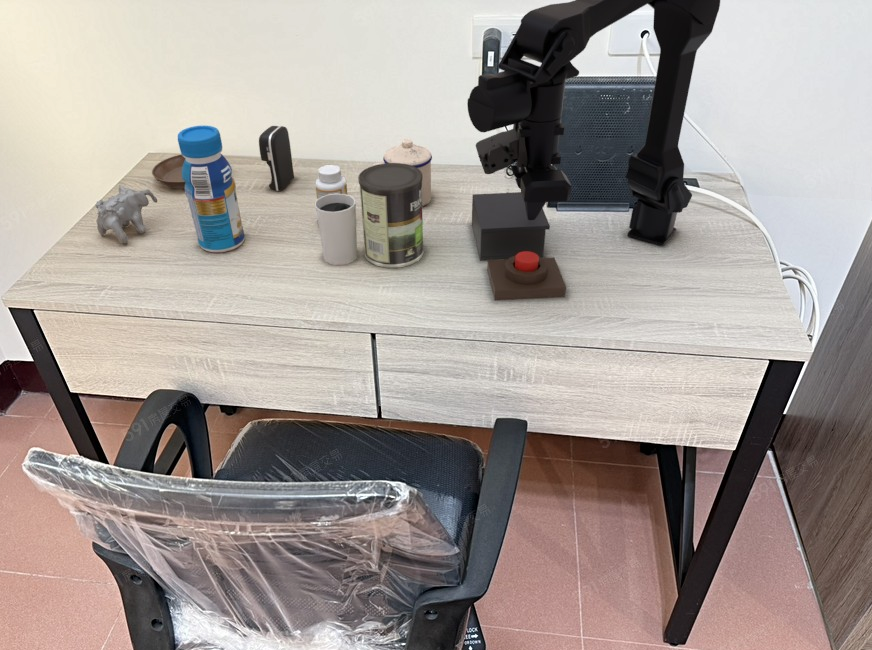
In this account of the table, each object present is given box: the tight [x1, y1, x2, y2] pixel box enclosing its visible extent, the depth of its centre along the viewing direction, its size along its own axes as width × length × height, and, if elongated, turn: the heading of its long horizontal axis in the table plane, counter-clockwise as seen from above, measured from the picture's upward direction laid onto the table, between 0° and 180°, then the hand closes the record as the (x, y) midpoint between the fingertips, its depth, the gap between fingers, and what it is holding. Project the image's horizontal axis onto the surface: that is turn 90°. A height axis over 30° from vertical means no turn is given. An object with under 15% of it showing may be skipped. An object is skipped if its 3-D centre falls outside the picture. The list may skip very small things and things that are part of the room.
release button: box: [515, 251, 539, 272], centre depth 111 cm, size 4×4×2 cm
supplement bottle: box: [315, 164, 349, 200], centre depth 128 cm, size 6×6×10 cm
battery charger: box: [258, 125, 295, 192], centre depth 141 cm, size 7×4×11 cm, turn 162°
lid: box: [471, 191, 551, 233], centre depth 119 cm, size 11×13×4 cm
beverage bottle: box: [177, 125, 246, 253], centre depth 120 cm, size 8×8×20 cm
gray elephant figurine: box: [95, 185, 158, 244], centre depth 129 cm, size 9×12×8 cm
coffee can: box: [357, 162, 424, 269], centre depth 117 cm, size 10×10×14 cm
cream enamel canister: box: [371, 139, 433, 207], centre depth 134 cm, size 12×9×12 cm
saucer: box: [151, 153, 186, 190], centre depth 147 cm, size 15×15×3 cm
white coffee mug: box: [314, 194, 358, 266], centre depth 118 cm, size 7×7×10 cm
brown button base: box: [486, 255, 567, 301], centre depth 112 cm, size 11×9×4 cm
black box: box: [471, 198, 547, 262], centre depth 122 cm, size 11×13×5 cm
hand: (531, 218), depth 106 cm, fingers closed
